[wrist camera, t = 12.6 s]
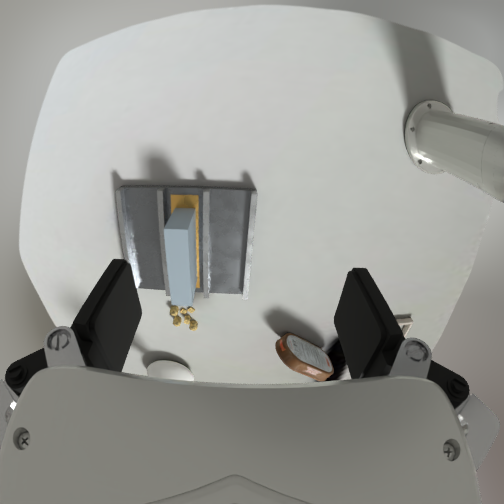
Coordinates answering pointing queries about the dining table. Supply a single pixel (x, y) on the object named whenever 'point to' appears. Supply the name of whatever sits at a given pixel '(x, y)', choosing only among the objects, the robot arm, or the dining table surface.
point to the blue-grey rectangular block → (181, 255)
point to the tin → (304, 357)
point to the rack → (207, 234)
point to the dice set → (177, 319)
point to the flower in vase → (169, 370)
